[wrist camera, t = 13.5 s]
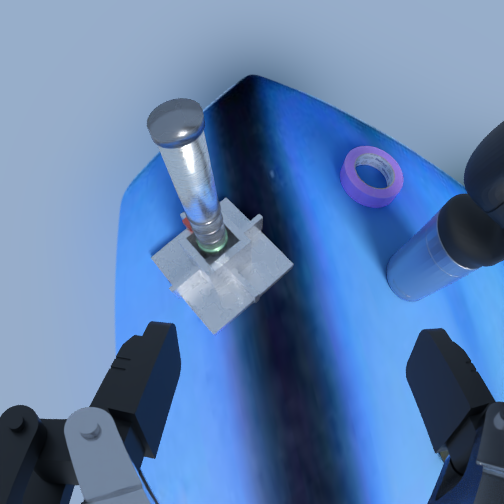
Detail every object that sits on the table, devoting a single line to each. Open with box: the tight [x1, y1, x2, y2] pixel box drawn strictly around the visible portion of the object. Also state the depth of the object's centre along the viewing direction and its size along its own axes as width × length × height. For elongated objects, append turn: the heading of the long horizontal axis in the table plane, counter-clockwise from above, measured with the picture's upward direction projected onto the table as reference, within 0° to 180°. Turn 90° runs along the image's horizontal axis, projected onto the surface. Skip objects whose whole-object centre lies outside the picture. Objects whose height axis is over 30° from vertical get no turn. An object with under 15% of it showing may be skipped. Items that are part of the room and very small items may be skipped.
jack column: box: [147, 98, 228, 257], centre depth 30 cm, size 4×4×23 cm
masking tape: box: [340, 146, 403, 208], centre depth 53 cm, size 12×12×4 cm
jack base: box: [151, 198, 294, 335], centre depth 44 cm, size 17×17×11 cm
